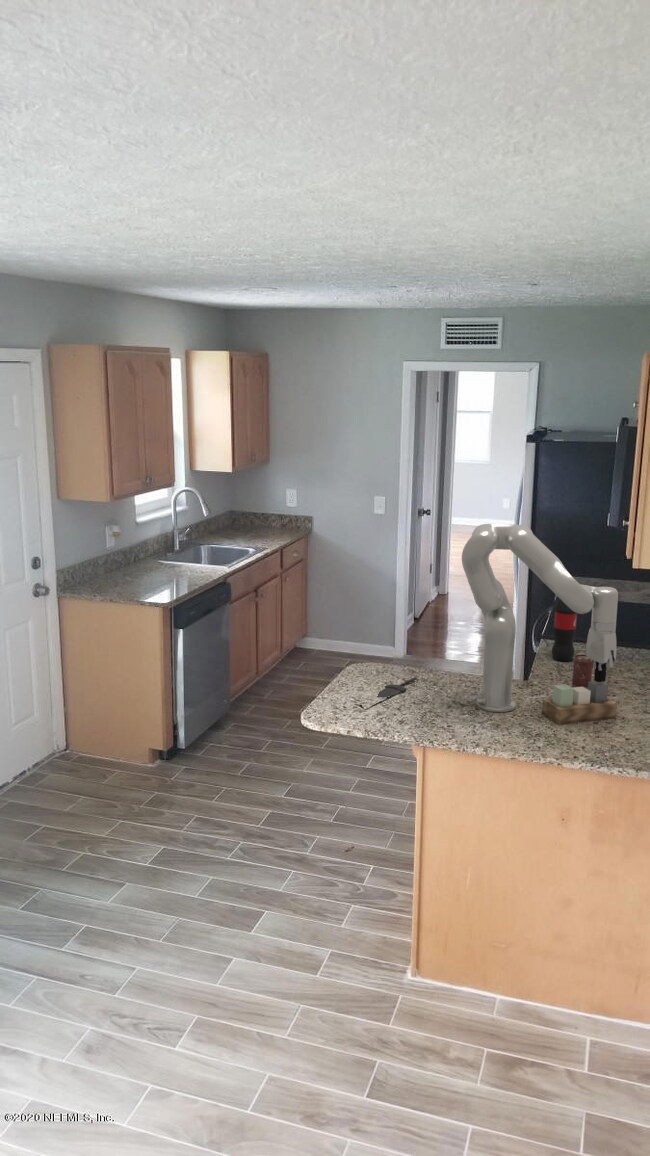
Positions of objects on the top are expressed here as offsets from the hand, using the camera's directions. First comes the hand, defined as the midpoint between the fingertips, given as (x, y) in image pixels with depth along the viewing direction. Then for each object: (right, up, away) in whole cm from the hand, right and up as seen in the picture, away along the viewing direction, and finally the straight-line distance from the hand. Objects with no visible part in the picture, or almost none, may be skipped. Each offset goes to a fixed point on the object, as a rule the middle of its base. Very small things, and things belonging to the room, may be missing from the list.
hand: (599, 680), depth 282 cm
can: (-1, -8, +19) cm, 21 cm away
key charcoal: (0, -8, +2) cm, 8 cm away
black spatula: (-67, -7, +19) cm, 69 cm away
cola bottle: (+4, +1, +60) cm, 60 cm away
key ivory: (-7, -9, 0) cm, 11 cm away
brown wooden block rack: (-7, -11, 0) cm, 13 cm away
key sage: (-13, -8, -2) cm, 15 cm away
